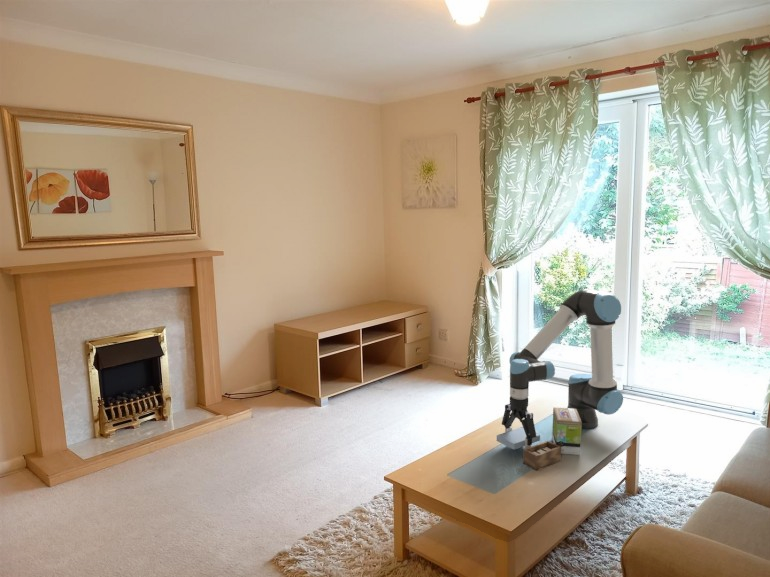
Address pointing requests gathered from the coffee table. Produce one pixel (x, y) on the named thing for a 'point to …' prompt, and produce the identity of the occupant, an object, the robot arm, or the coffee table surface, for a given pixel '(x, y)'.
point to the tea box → (567, 430)
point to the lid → (515, 438)
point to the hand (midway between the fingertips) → (518, 447)
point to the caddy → (541, 455)
